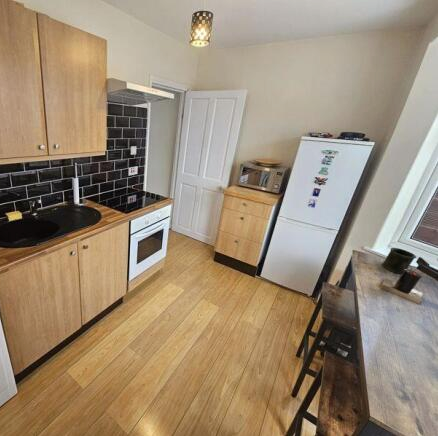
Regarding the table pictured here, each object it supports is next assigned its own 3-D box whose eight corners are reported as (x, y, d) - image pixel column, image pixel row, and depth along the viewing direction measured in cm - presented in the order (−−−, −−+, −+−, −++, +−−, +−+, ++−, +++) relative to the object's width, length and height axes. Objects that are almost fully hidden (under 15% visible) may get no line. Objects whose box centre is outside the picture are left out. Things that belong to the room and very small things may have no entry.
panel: (419, 297, 118) (422, 292, 116) (418, 305, 112) (421, 300, 110) (383, 282, 127) (385, 277, 126) (380, 289, 121) (383, 284, 120)
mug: (380, 268, 140) (391, 251, 135) (380, 259, 150) (390, 244, 145) (405, 277, 134) (417, 260, 129) (404, 267, 143) (414, 251, 139)
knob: (393, 283, 122) (403, 267, 118) (408, 287, 119) (419, 271, 115) (396, 289, 117) (407, 272, 113) (412, 294, 114) (424, 277, 110)
